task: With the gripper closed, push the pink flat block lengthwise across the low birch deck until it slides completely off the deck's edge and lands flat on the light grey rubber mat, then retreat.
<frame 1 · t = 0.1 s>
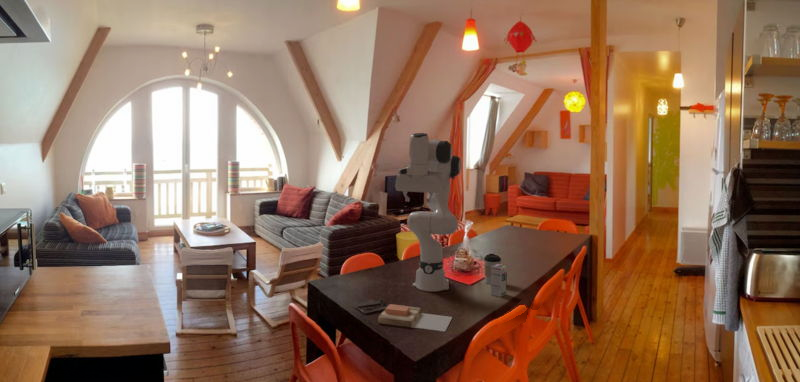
hand: (417, 202, 209), 48 cm above the table, fingers open, 8 cm apart
syrup box: (498, 294, 235), on the table
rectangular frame: (372, 309, 212), on the table
deck: (399, 318, 201), on the table
coffee cup: (491, 283, 254), on the table
mat: (432, 322, 197), on the table
pink flat block: (397, 312, 201), point 2 cm above the table, touching deck
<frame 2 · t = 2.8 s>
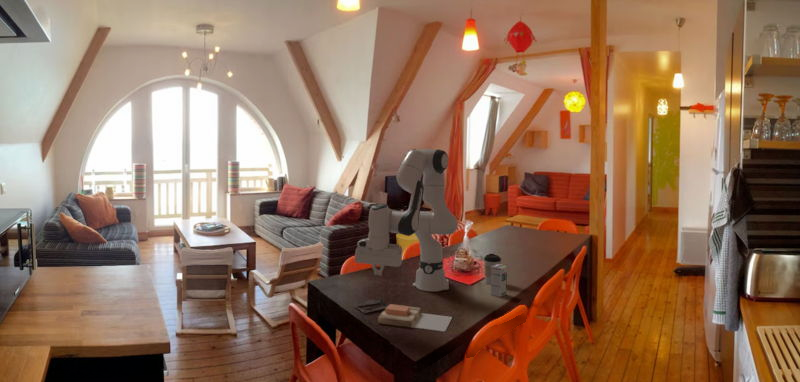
hand: (377, 274, 202), 18 cm above the table, fingers closed
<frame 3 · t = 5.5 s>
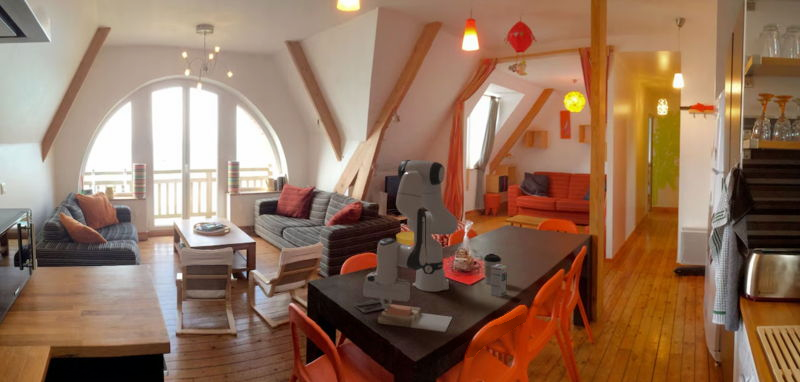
hand: (386, 308, 203), 3 cm above the table, fingers closed
pink flat block: (399, 312, 201), point 3 cm above the table, touching deck, gripper
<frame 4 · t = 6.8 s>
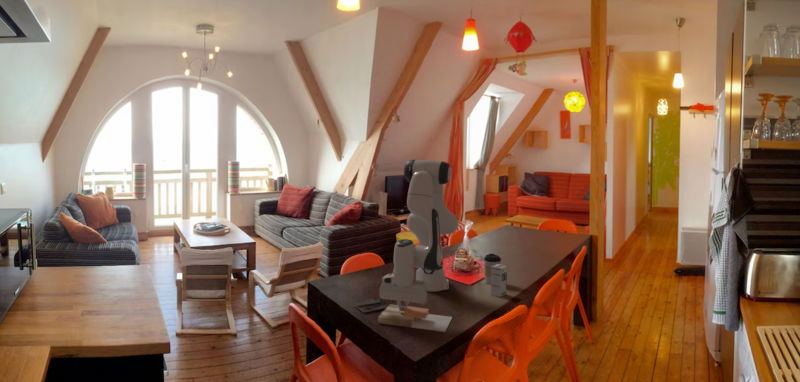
hand: (402, 310, 201), 3 cm above the table, fingers closed
pink flat block: (416, 314, 199), point 3 cm above the table, touching gripper
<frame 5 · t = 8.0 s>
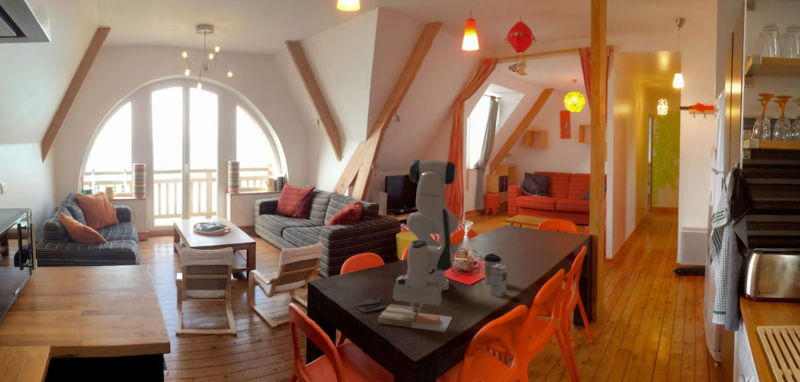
hand: (416, 312, 199), 3 cm above the table, fingers closed
pink flat block: (427, 321, 198), resting on mat
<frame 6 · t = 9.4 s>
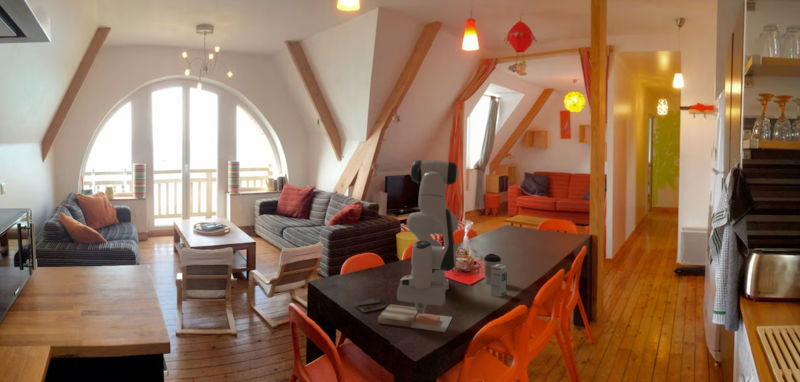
hand: (420, 313, 198), 3 cm above the table, fingers closed
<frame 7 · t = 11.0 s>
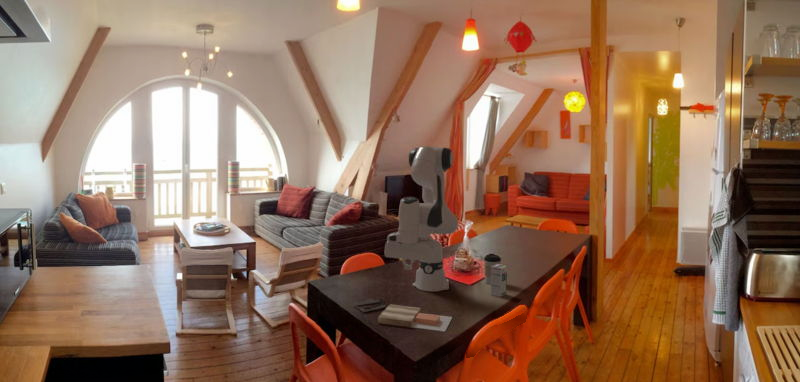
hand: (408, 269, 198), 21 cm above the table, fingers closed
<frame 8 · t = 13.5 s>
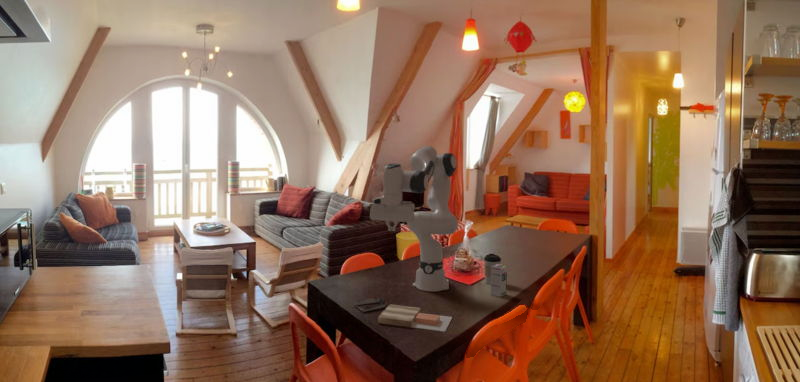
hand: (391, 230, 214), 34 cm above the table, fingers closed
at the end: pink flat block resting on mat; pink flat block inside the target area on the mat (2.0 cm from its centre), point 0.3 cm above the mat's base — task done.
